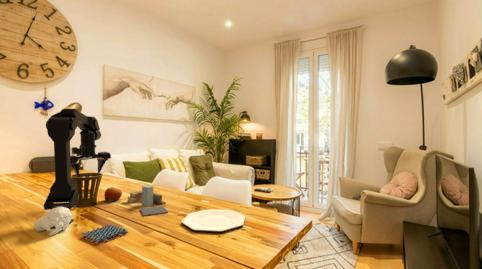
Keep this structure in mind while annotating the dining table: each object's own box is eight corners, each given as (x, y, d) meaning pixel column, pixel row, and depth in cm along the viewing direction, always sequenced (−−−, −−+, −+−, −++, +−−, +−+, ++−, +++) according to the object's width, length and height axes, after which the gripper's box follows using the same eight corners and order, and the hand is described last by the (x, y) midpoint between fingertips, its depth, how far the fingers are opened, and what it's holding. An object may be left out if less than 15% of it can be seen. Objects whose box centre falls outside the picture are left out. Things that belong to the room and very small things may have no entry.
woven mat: (99, 247, 70) (99, 240, 70) (79, 239, 75) (80, 233, 75) (130, 234, 79) (130, 228, 80) (111, 229, 85) (111, 223, 85)
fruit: (96, 200, 116) (104, 184, 120) (108, 204, 122) (114, 189, 126) (109, 201, 114) (116, 185, 118) (120, 206, 120) (126, 191, 124)
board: (147, 206, 110) (147, 187, 111) (141, 204, 114) (142, 186, 114) (153, 205, 113) (153, 186, 113) (147, 203, 116) (148, 185, 116)
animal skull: (56, 209, 76) (26, 211, 78) (57, 236, 76) (27, 236, 78) (73, 204, 82) (45, 205, 84) (74, 229, 82) (46, 229, 84)
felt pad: (143, 216, 97) (143, 215, 97) (140, 210, 105) (140, 208, 105) (167, 212, 102) (168, 211, 102) (163, 207, 110) (163, 205, 110)
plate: (246, 214, 103) (246, 210, 103) (241, 236, 79) (241, 232, 79) (194, 211, 105) (194, 208, 105) (173, 232, 81) (173, 228, 81)
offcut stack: (131, 203, 116) (131, 194, 116) (127, 201, 119) (127, 193, 119) (145, 200, 121) (145, 192, 121) (140, 199, 124) (141, 190, 124)
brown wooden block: (158, 205, 113) (159, 196, 113) (146, 200, 121) (146, 192, 121) (165, 203, 116) (165, 194, 116) (153, 199, 124) (153, 191, 124)
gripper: (100, 139, 124) (101, 168, 125) (57, 142, 109) (59, 175, 110) (111, 142, 118) (111, 172, 119) (67, 145, 102) (68, 180, 104)
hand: (88, 174), depth 113 cm, fingers open, 9 cm apart
